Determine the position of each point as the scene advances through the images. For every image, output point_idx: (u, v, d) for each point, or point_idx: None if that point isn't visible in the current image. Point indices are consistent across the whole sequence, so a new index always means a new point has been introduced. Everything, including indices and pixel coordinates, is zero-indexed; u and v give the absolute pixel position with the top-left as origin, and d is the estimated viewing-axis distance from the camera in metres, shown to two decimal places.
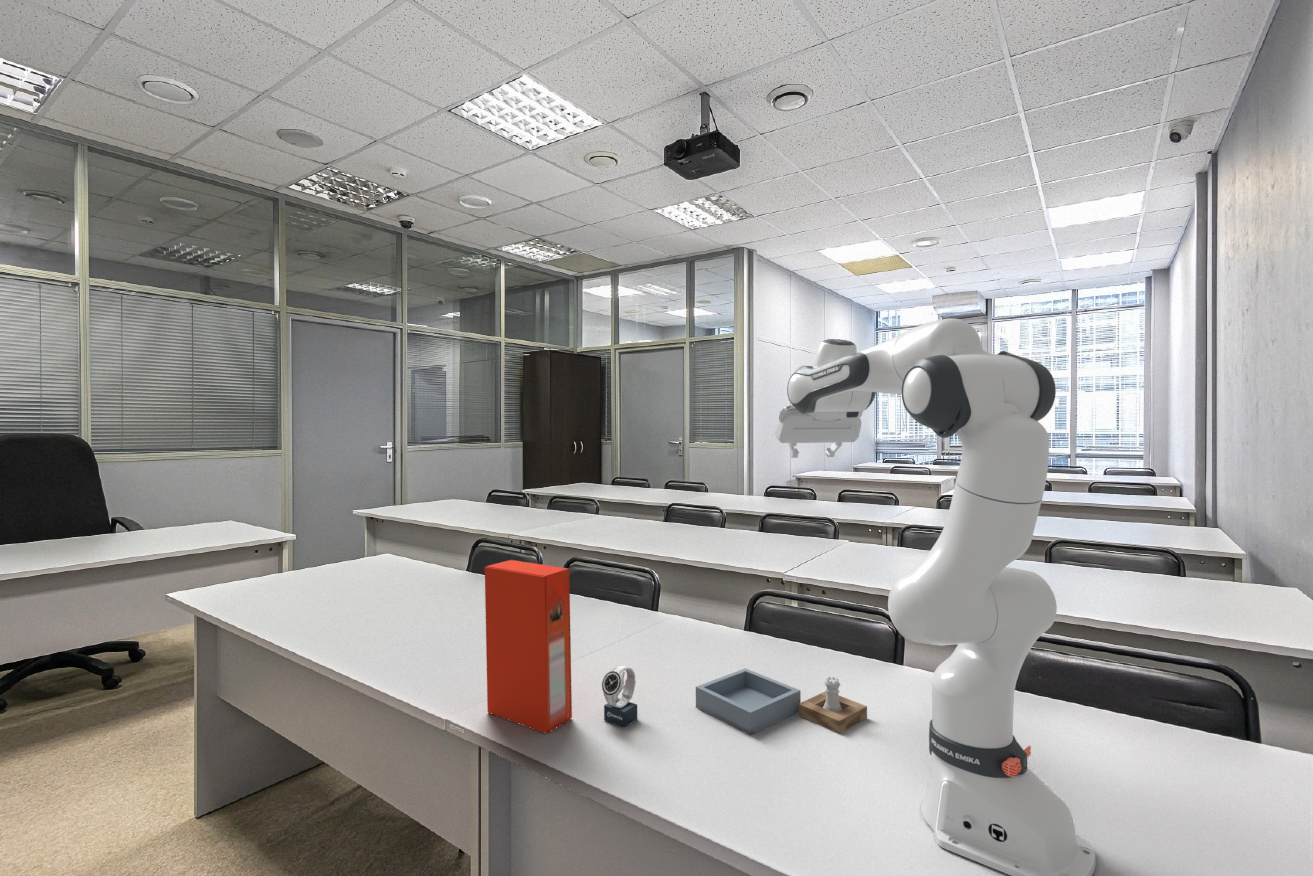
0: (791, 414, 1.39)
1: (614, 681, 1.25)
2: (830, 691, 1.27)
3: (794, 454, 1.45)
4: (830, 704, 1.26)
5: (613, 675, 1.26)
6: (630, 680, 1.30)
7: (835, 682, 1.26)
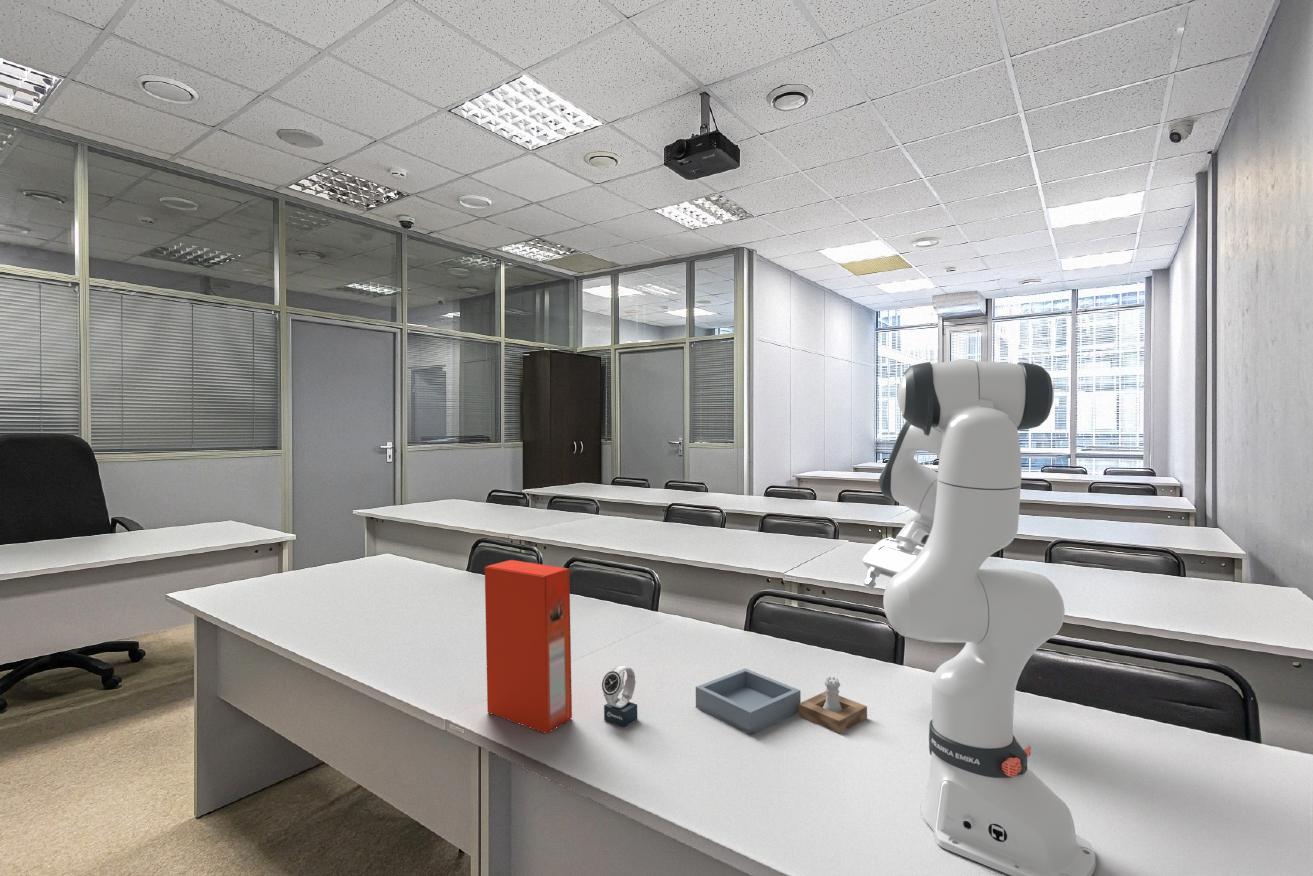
0: None
1: (614, 681, 1.25)
2: (830, 691, 1.27)
3: (867, 579, 1.36)
4: (830, 704, 1.26)
5: (613, 675, 1.26)
6: (630, 680, 1.30)
7: (835, 682, 1.26)
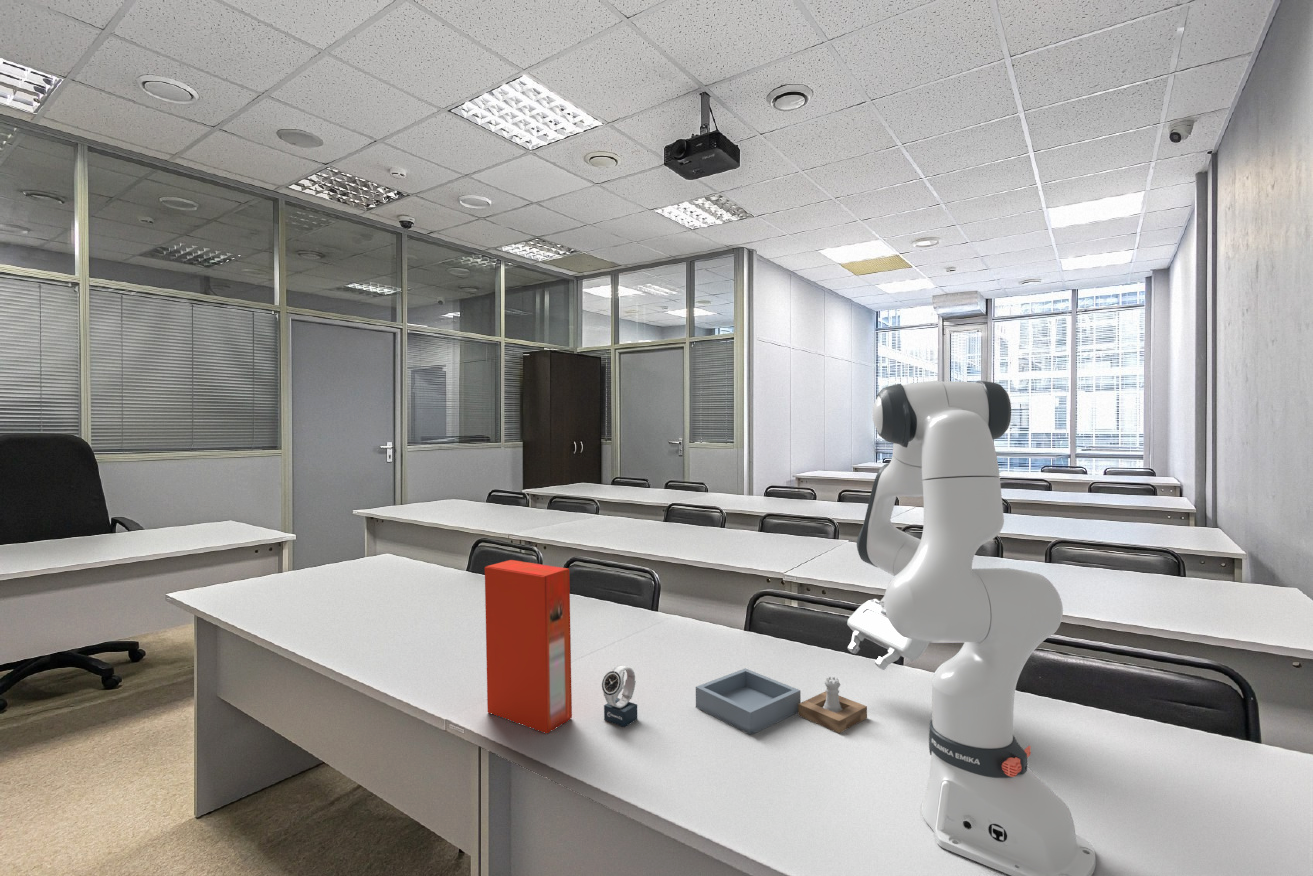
0: None
1: (614, 681, 1.25)
2: (830, 691, 1.27)
3: (850, 644, 1.35)
4: (830, 704, 1.26)
5: (613, 675, 1.26)
6: (630, 680, 1.30)
7: (835, 682, 1.26)
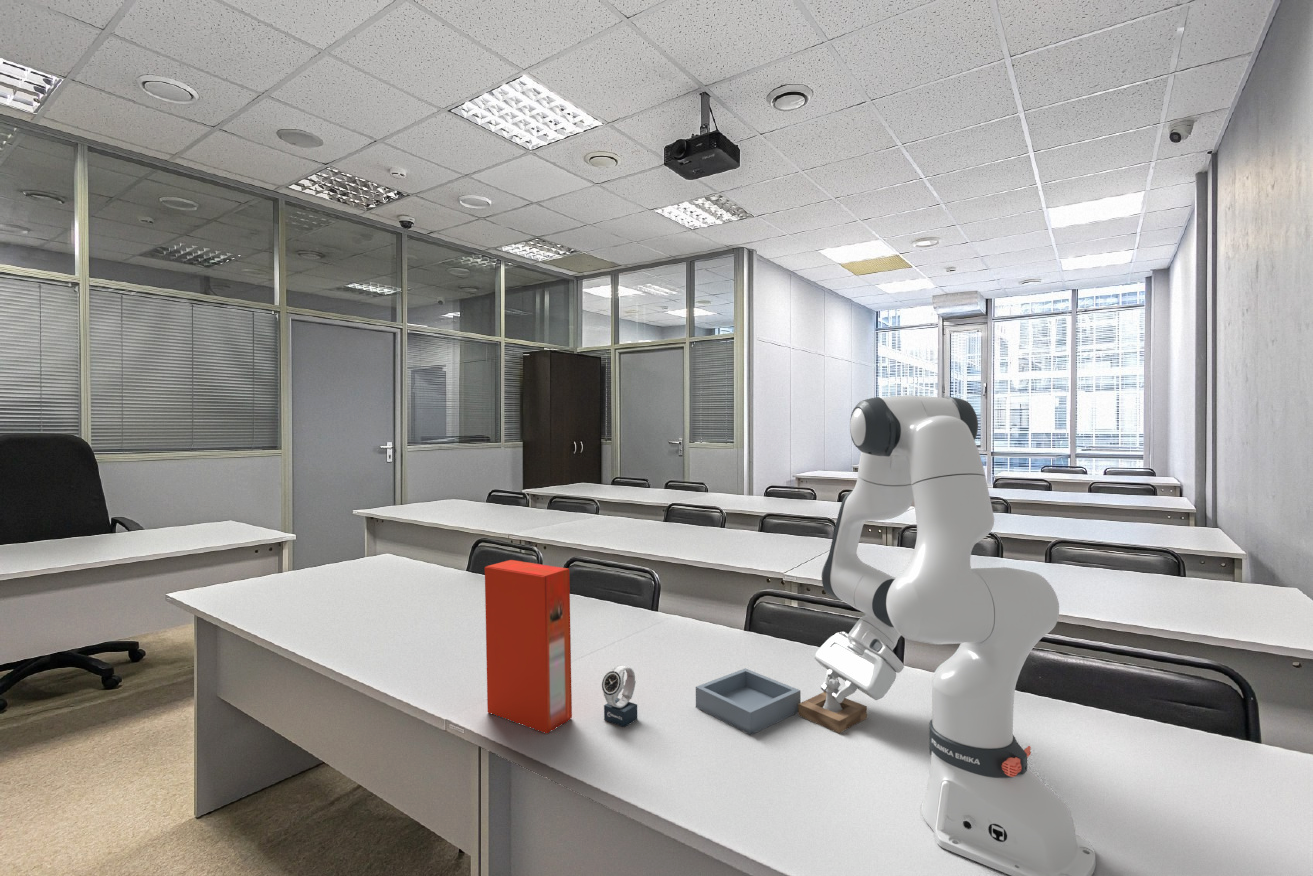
0: None
1: (614, 681, 1.25)
2: (830, 691, 1.27)
3: (824, 684, 1.30)
4: (830, 704, 1.26)
5: (613, 675, 1.26)
6: (630, 680, 1.30)
7: (835, 682, 1.26)
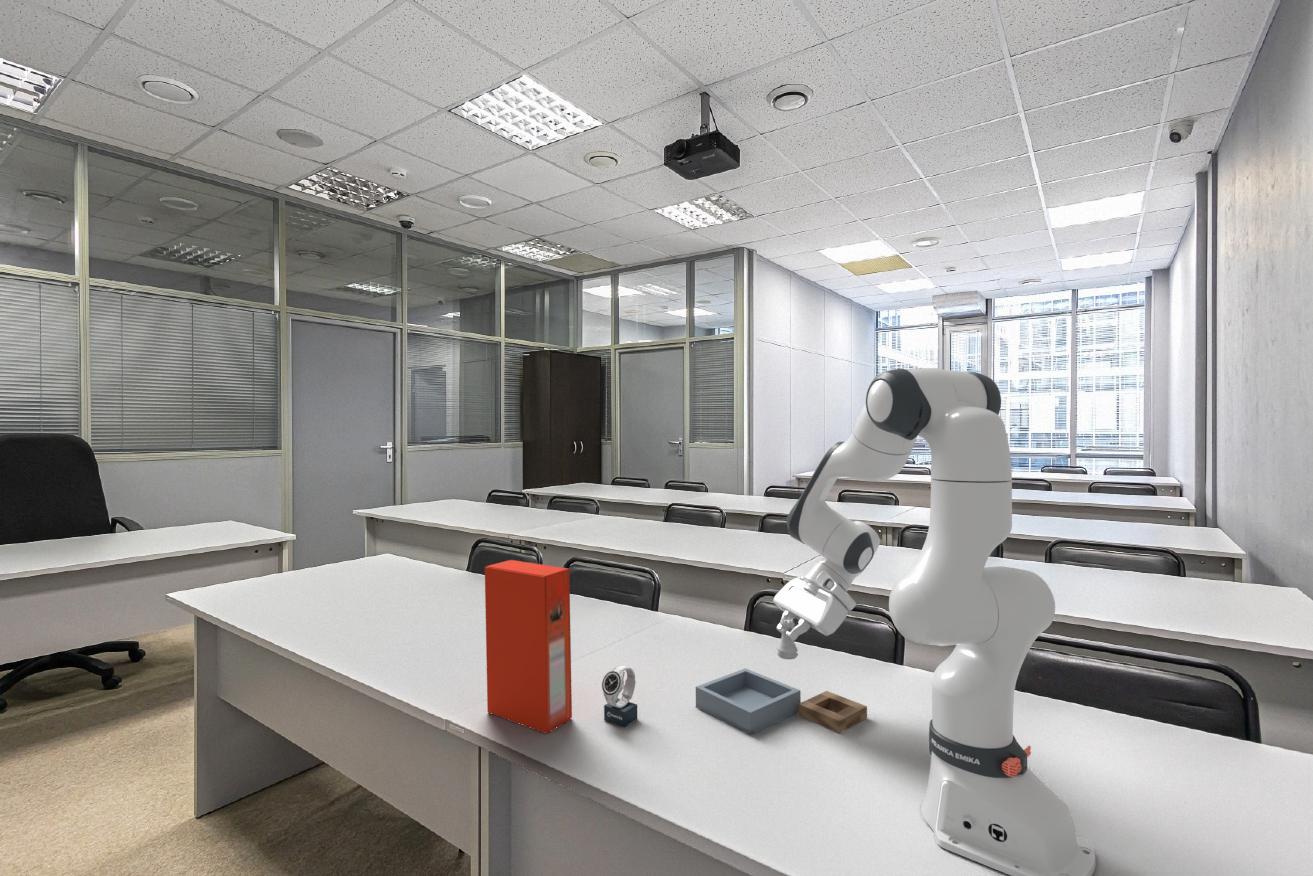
0: None
1: (614, 681, 1.25)
2: (785, 630, 1.29)
3: (779, 624, 1.32)
4: (784, 642, 1.29)
5: (613, 675, 1.26)
6: (630, 680, 1.30)
7: (790, 621, 1.29)
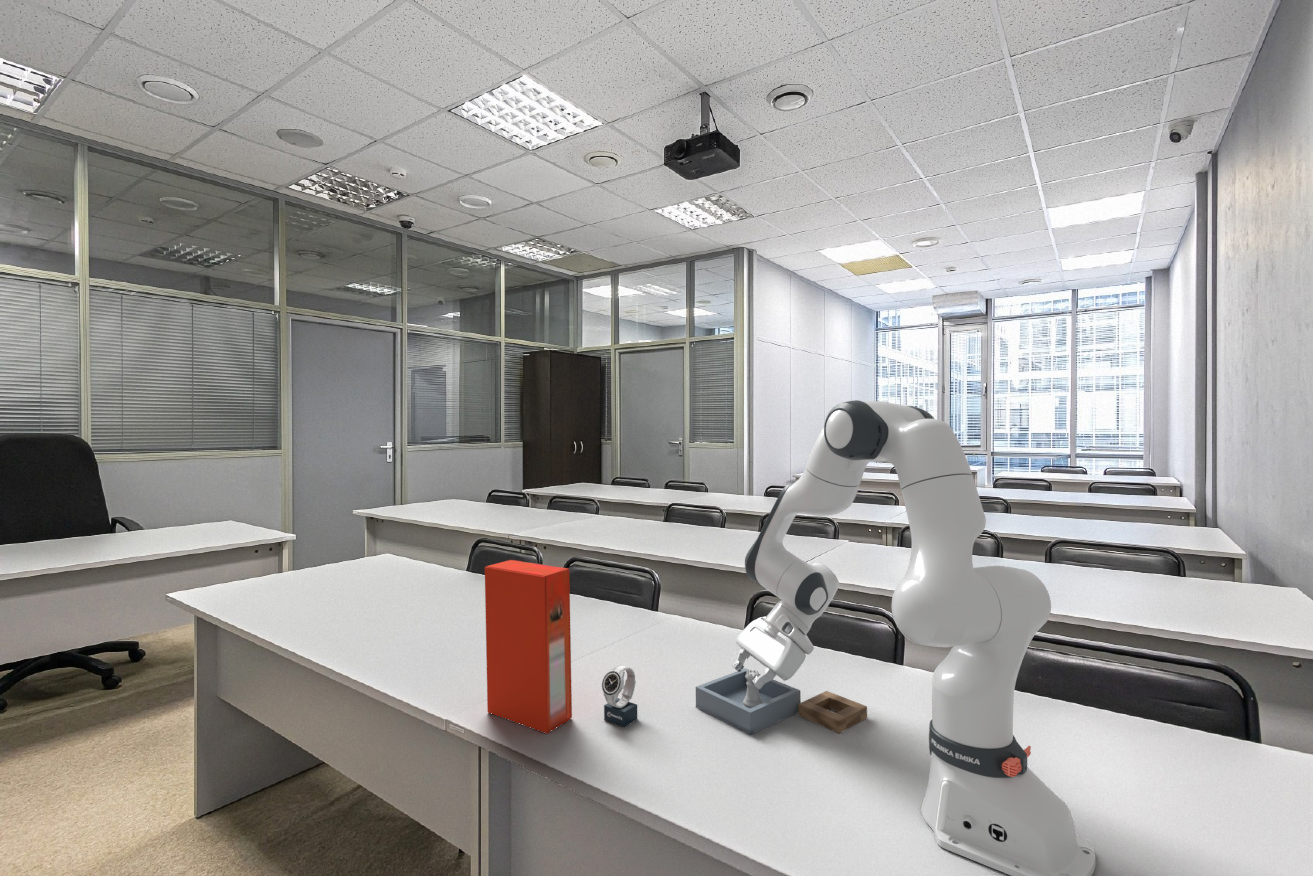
0: None
1: (614, 681, 1.25)
2: (750, 684, 1.28)
3: (735, 662, 1.36)
4: (749, 696, 1.28)
5: (613, 675, 1.26)
6: (630, 680, 1.30)
7: (755, 675, 1.28)
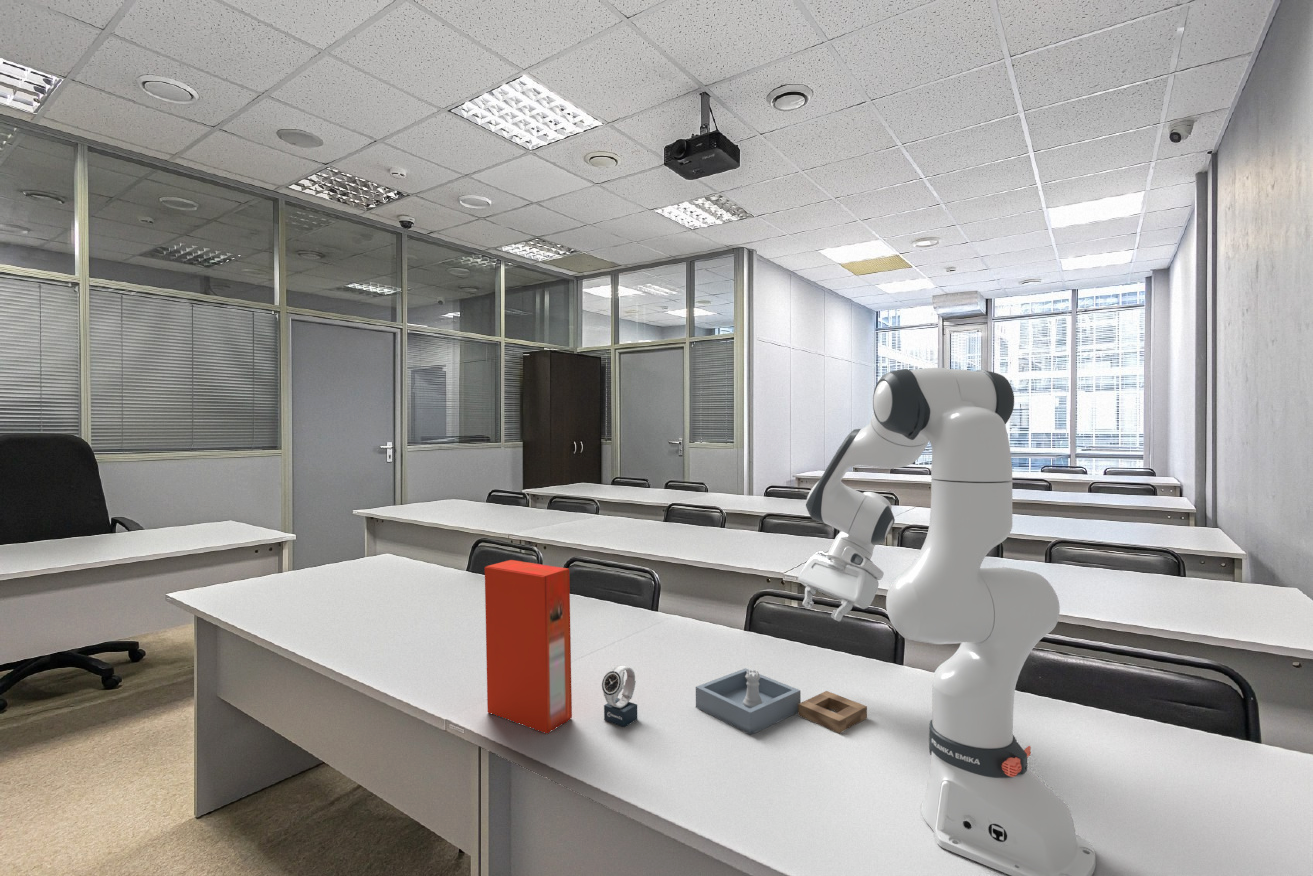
0: None
1: (614, 681, 1.25)
2: (750, 684, 1.28)
3: (805, 600, 1.39)
4: (749, 696, 1.28)
5: (613, 675, 1.26)
6: (630, 680, 1.30)
7: (755, 675, 1.28)
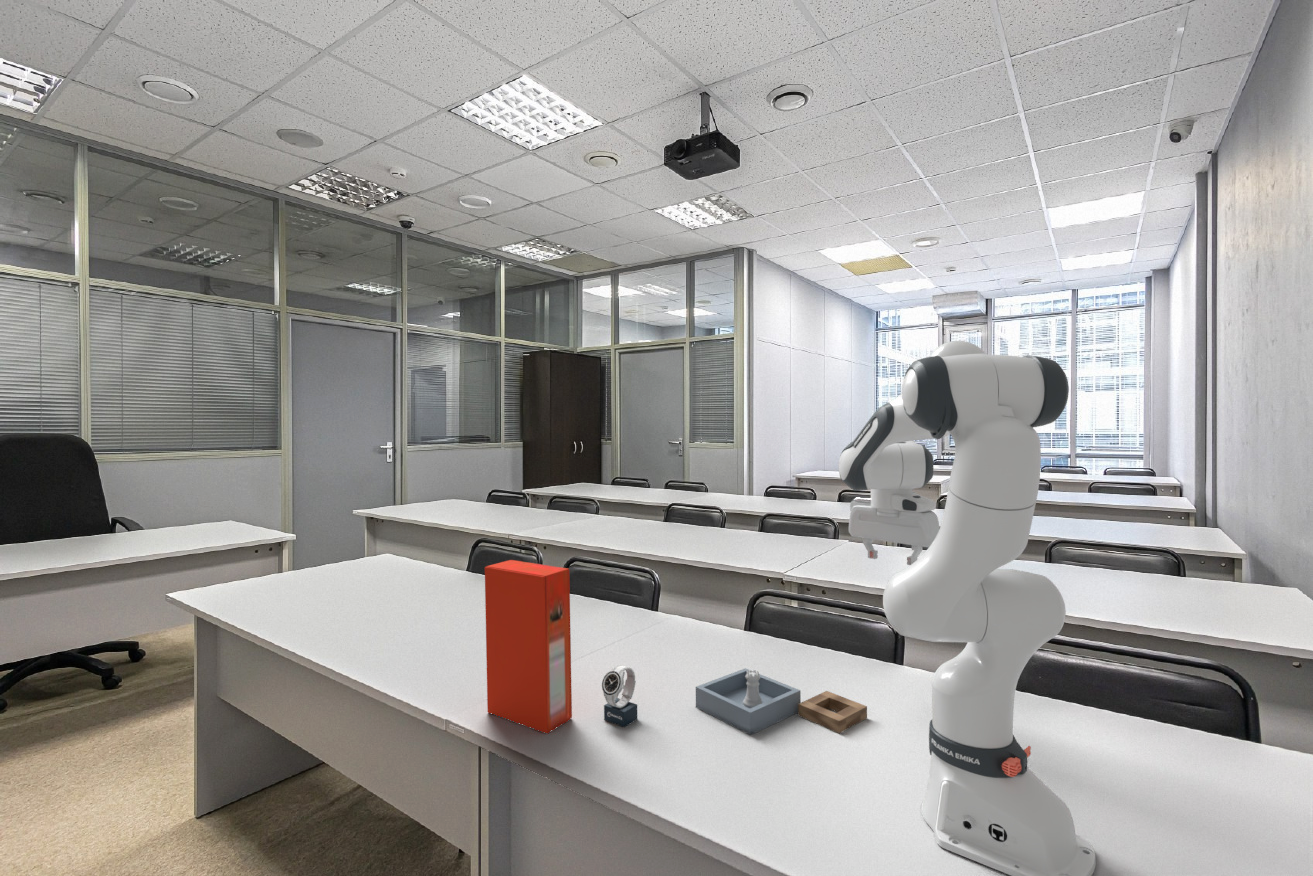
0: (857, 505, 1.40)
1: (614, 681, 1.25)
2: (750, 684, 1.28)
3: (869, 553, 1.38)
4: (749, 696, 1.28)
5: (613, 675, 1.26)
6: (630, 680, 1.30)
7: (755, 675, 1.28)
